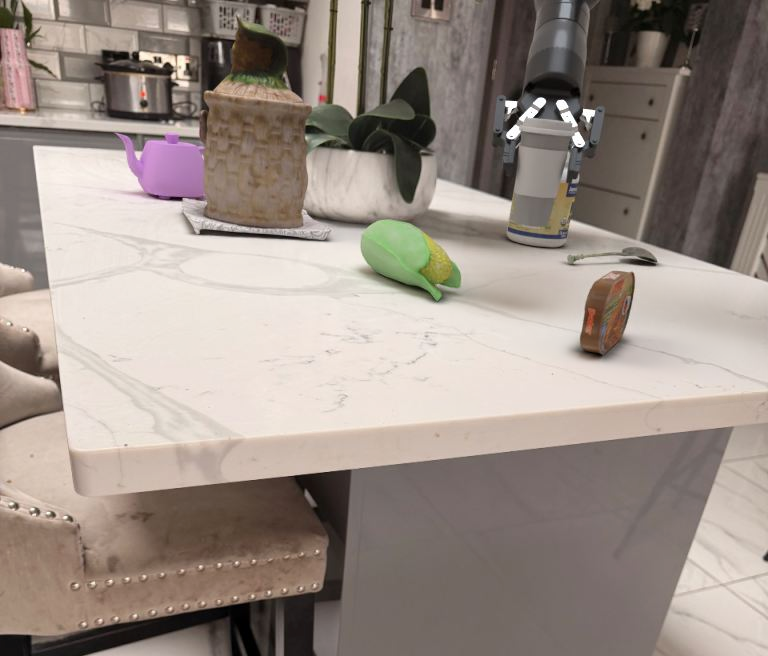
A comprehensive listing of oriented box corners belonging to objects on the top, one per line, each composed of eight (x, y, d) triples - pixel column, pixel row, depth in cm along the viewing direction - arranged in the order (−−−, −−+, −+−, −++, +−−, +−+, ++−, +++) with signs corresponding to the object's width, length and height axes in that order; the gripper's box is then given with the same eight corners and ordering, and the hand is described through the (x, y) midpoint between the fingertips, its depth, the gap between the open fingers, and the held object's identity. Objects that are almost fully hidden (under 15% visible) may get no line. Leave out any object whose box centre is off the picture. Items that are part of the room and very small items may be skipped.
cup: (519, 227, 95) (538, 120, 89) (494, 217, 100) (509, 115, 94) (567, 229, 98) (588, 124, 92) (540, 219, 103) (558, 120, 97)
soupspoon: (663, 269, 146) (637, 263, 151) (668, 251, 144) (641, 245, 149) (581, 267, 134) (555, 260, 139) (585, 247, 133) (559, 241, 138)
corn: (401, 233, 119) (485, 265, 105) (372, 277, 120) (452, 315, 106) (368, 200, 113) (454, 230, 99) (338, 247, 114) (419, 283, 100)
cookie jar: (334, 241, 133) (348, 25, 117) (188, 234, 125) (183, 2, 110) (306, 216, 153) (315, 29, 137) (179, 208, 146) (174, 10, 130)
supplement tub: (566, 251, 148) (587, 156, 140) (504, 243, 149) (521, 147, 141) (563, 241, 159) (582, 151, 150) (505, 233, 160) (521, 144, 151)
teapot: (204, 192, 167) (204, 132, 161) (226, 202, 158) (226, 139, 152) (110, 189, 158) (106, 125, 152) (127, 200, 148) (123, 133, 142)
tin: (596, 362, 87) (614, 287, 82) (569, 355, 88) (586, 281, 84) (626, 334, 98) (644, 268, 94) (602, 329, 100) (619, 263, 95)
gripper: (503, 38, 96) (484, 146, 92) (618, 50, 95) (604, 160, 91) (497, 87, 103) (479, 188, 99) (604, 98, 102) (591, 202, 98)
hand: (539, 175), depth 95 cm, fingers closed on cup, 7 cm apart
